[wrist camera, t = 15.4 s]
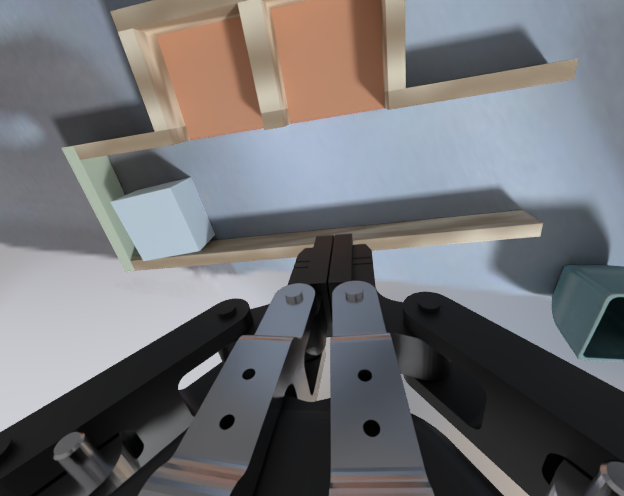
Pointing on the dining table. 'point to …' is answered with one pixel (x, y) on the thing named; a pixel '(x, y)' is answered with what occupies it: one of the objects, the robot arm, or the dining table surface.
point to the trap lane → (279, 103)
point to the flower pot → (591, 311)
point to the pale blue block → (165, 219)
